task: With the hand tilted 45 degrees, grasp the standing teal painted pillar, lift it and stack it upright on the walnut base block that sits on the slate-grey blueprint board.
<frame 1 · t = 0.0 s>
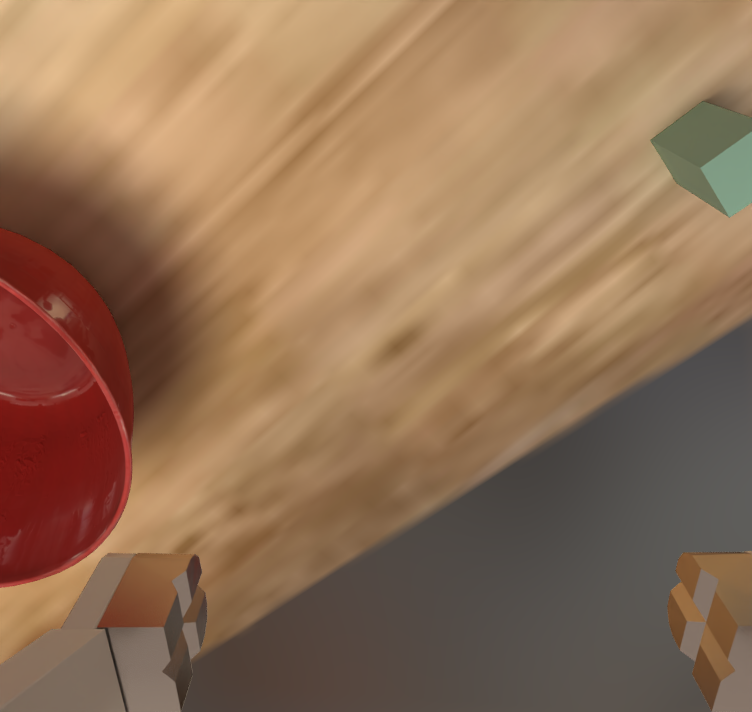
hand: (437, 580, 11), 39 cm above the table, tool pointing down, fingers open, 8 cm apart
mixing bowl: (20, 324, 52), on the table
pillar: (689, 143, 45), on the table
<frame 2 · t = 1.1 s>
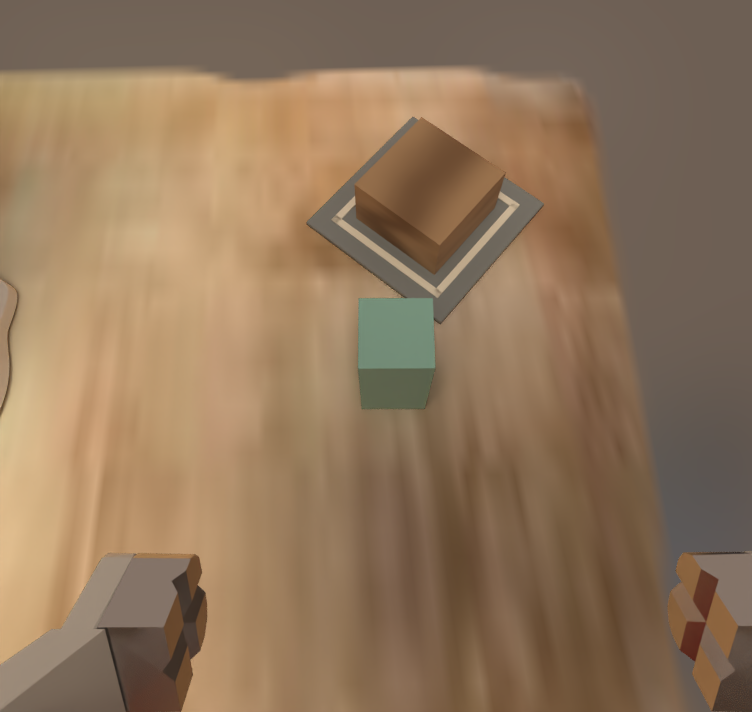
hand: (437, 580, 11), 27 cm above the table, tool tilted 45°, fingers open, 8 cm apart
blueprint board: (425, 215, 45), on the table
base block: (425, 212, 45), resting on blueprint board
pillar: (392, 379, 41), on the table
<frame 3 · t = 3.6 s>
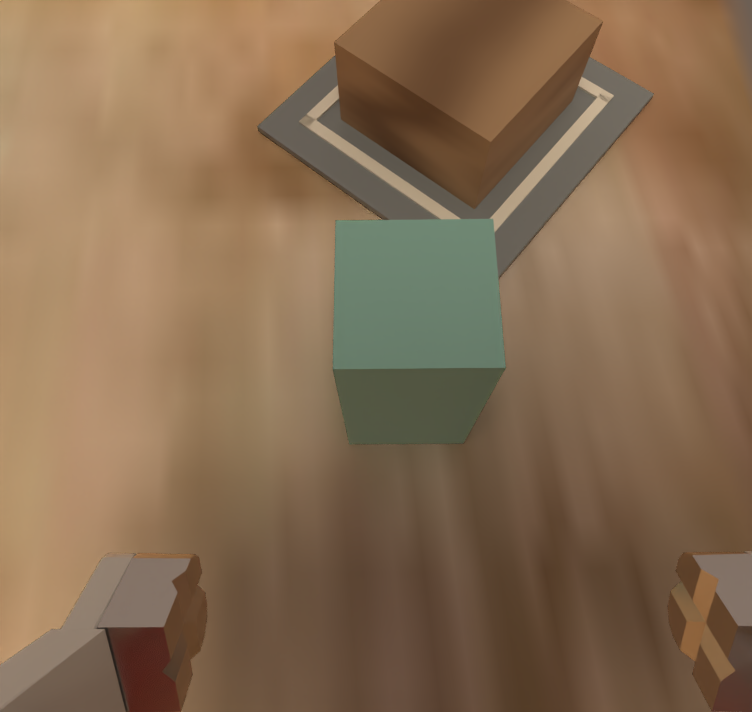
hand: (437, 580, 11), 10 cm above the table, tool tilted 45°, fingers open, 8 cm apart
blueprint board: (456, 115, 27), on the table
base block: (457, 110, 27), resting on blueprint board
pillar: (405, 389, 23), on the table
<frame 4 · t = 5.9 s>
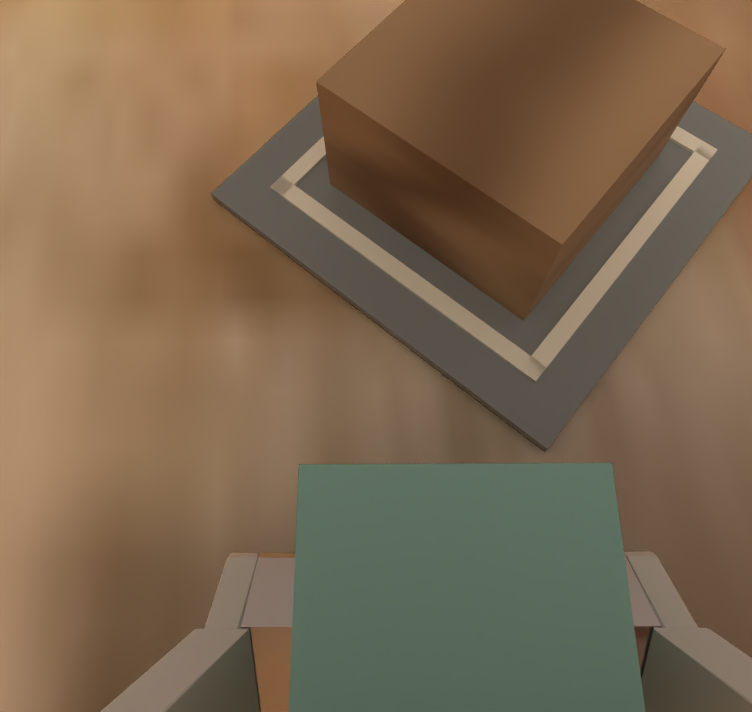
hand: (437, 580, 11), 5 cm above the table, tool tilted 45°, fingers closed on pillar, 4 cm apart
blueprint board: (493, 176, 19), on the table
base block: (494, 170, 19), resting on blueprint board
pillar: (423, 613, 15), on the table, touching gripper
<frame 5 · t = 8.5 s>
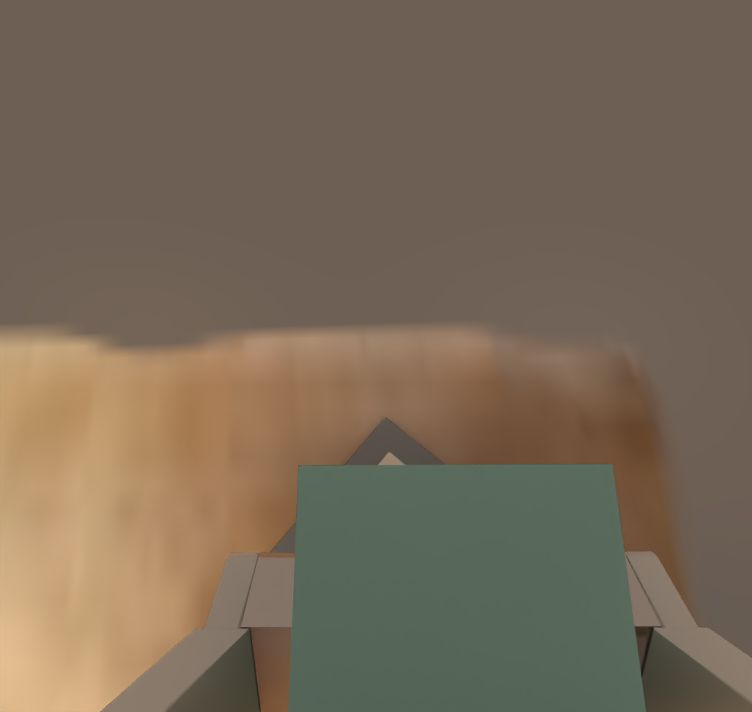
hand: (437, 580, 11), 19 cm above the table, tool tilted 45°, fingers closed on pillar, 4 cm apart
blueprint board: (403, 598, 29), on the table
pillar: (423, 613, 15), point 15 cm above the table, touching gripper
when the fingers open (10 cm above the table, at t = 10.9 s): pillar drops 1 cm, resting on base block.
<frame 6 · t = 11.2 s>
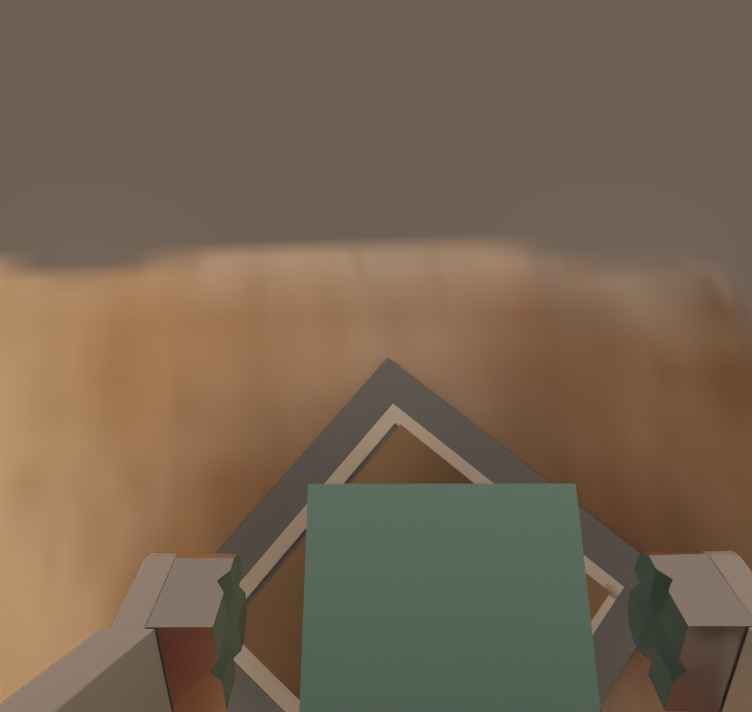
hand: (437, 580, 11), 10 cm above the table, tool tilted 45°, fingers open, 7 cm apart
blueprint board: (413, 606, 20), on the table
base block: (413, 607, 20), resting on blueprint board, touching pillar
pillar: (418, 611, 16), point 4 cm above the table, touching base block
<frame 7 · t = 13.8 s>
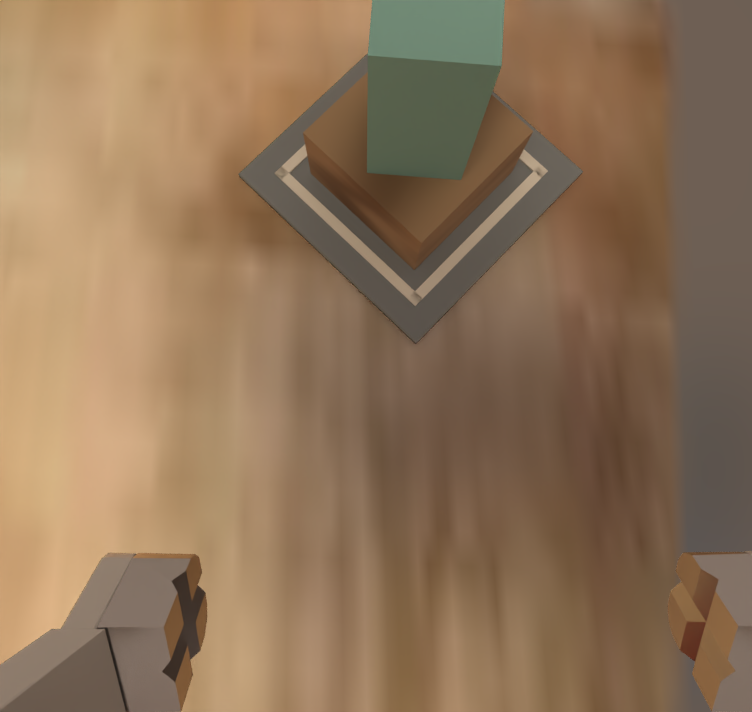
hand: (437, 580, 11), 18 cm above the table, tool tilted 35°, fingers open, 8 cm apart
blueprint board: (411, 175, 31), on the table
base block: (411, 172, 31), resting on blueprint board, touching pillar
pillar: (417, 132, 27), point 4 cm above the table, touching base block
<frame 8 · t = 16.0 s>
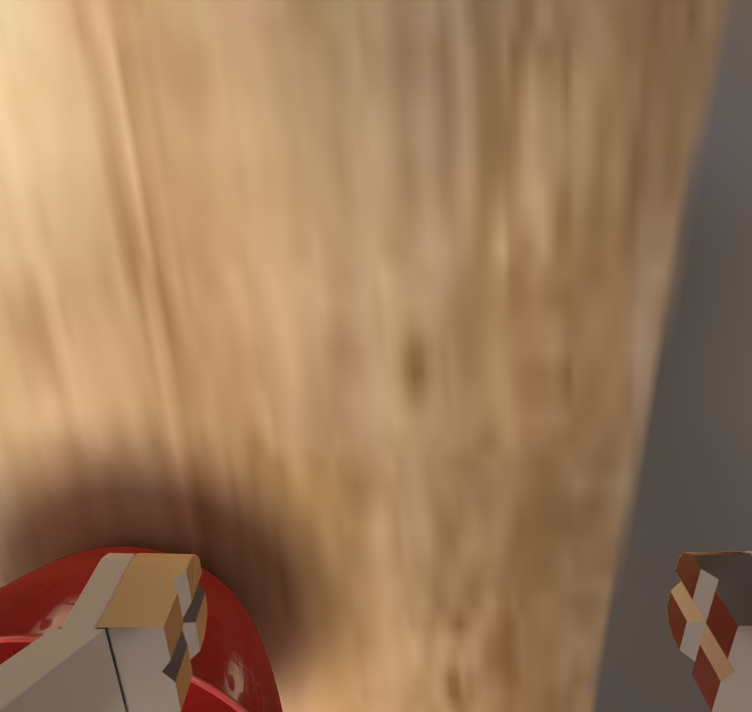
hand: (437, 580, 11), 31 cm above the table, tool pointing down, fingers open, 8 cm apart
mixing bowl: (152, 611, 53), on the table
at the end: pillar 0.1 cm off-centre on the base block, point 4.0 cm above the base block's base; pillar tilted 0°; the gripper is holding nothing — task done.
